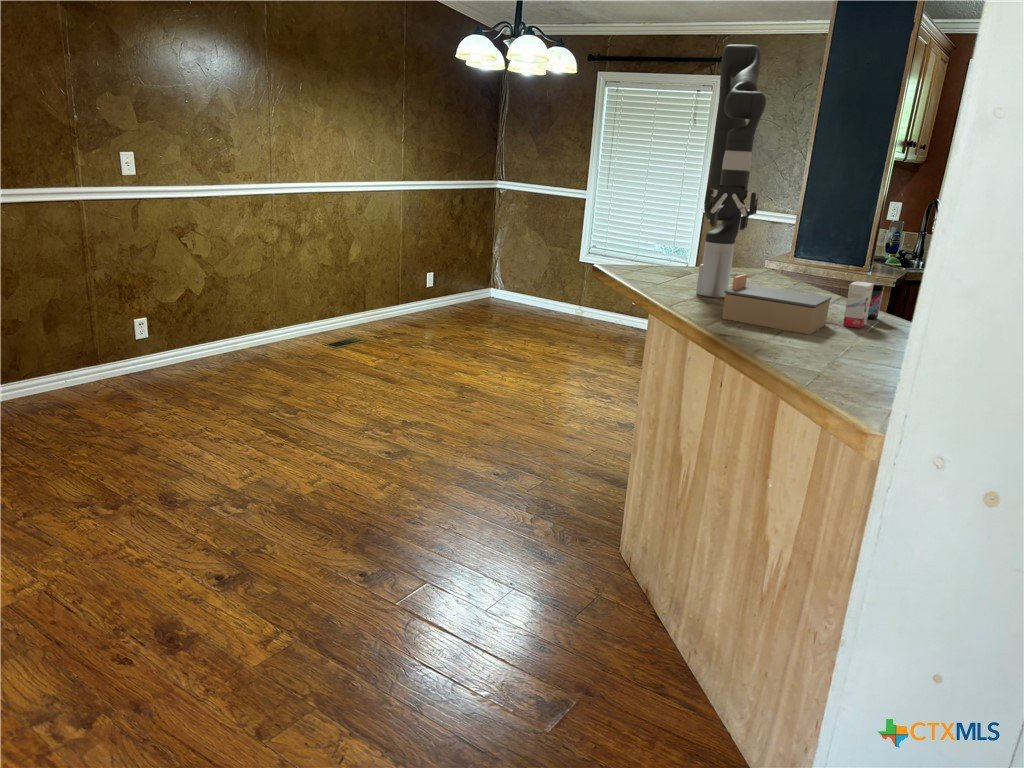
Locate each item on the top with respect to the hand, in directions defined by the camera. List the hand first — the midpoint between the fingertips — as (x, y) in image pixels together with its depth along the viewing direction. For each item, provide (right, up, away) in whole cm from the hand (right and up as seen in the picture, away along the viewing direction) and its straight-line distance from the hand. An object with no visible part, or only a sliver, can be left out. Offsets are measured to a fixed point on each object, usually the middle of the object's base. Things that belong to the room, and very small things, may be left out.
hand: (727, 228), depth 208 cm
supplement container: (+44, -25, +10) cm, 51 cm away
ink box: (+36, -28, 0) cm, 45 cm away
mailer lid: (+13, -20, -4) cm, 24 cm away
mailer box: (+12, -27, -2) cm, 29 cm away
